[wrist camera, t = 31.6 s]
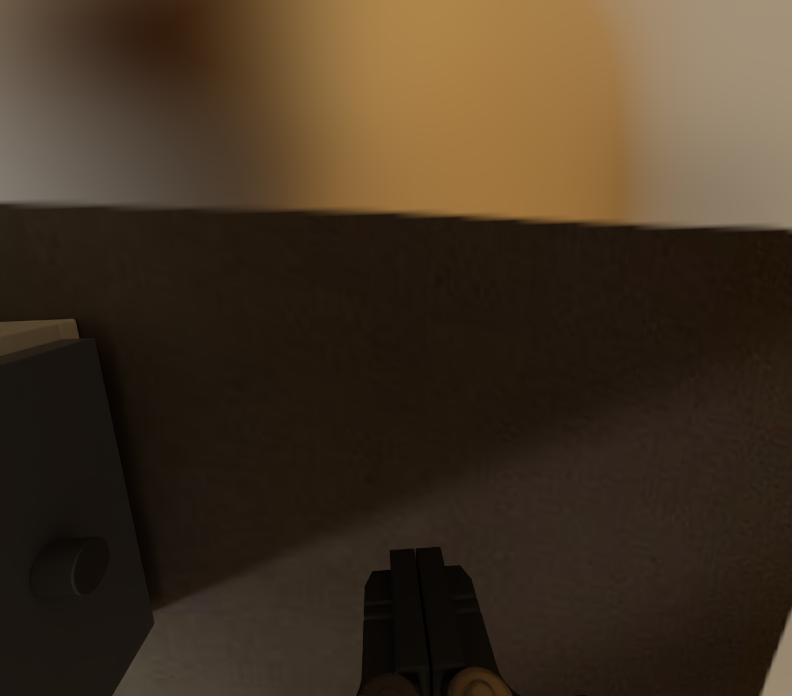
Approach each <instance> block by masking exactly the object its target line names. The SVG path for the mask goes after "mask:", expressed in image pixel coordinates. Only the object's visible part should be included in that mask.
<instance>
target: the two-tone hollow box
mask: <svg viewBox="0 0 792 696" xmlns="http://www.w3.org/2000/svg"><path fill="white" fill-rule="evenodd" d="M153 625H154V618H153V613H152V608H151V604H150V599H149V594H148V589H147V585H146V580H145V575H144V570H143V566H142V561H141V556H140V551H139V547H138V542H137V537H136V532H135V528H134V523H133V518H132V513H131V509H130V504H129V499H128V494H127V490H126V485H125V480H124V475H123V471H122V466H121V461H120V456H119V452H118V447H117V442H116V437H115V433H114V428H113V423H112V418H111V414H110V409H109V404H108V399H107V395H106V390H105V385H104V380H103V376H102V371H101V366H100V361H99V357H98V352H97V347H96V342H95V339H94V338H79V339H61V340H57V341H54V342H50V343H46V344H43V345H39V346H35V347H32V348H28V349H24V350H21V351H17V352H13V353H9V354H6V355H2V356H0V696H112V695H113V693H114V692H115V690H116V688H117V687H118V685H119V683H120V681H121V680H122V678H123V676H124V675H125V673H126V671H127V670H128V668H129V666H130V664H131V663H132V661H133V659H134V658H135V656H136V654H137V652H138V651H139V649H140V647H141V646H142V644H143V642H144V641H145V639H146V637H147V635H148V634H149V632H150V630H151V629H152V627H153Z"/></svg>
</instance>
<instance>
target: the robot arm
mask: <svg viewBox="0 0 792 696" xmlns="http://www.w3.org/2000/svg"><path fill="white" fill-rule="evenodd" d="M390 564H391V570H382V571H372V573H371V575H370V577H369V579H368V581H367V583H366V585H365V598H364V627H363V656H362V679H361V684H360V688H359V691H358V693H357V695H356V696H520V695H519V694H517V693H516V692H515V691H513V690H512V689H511V688H510V687H509V686H508V685H507V684H506V682H505V681H504V680H503V678H502V677H501V675H500V673H499V671H498V668H497V665H496V662H495V658H494V655H493V652H492V648H491V645H490V641H489V638H488V635H487V631H486V628H485V624H484V621H483V617H482V614H481V612H480V607H479V604H478V600H477V599H476V594H475V590H474V587H473V583H472V580H471V578H470V577H469V576H468V574H467V573H466V572H465V571H464V570H463V568H462V567H461V566H460V565H457V566H444V561H443V556H442V552H441V548H440V547H431V548H416V559H415V552H414V549H401V550H390ZM576 696H586V695H576Z"/></svg>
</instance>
